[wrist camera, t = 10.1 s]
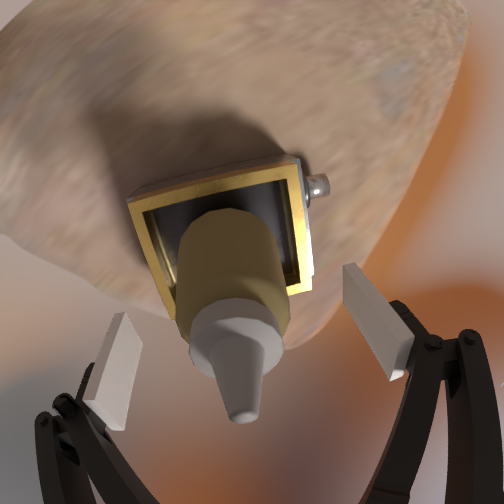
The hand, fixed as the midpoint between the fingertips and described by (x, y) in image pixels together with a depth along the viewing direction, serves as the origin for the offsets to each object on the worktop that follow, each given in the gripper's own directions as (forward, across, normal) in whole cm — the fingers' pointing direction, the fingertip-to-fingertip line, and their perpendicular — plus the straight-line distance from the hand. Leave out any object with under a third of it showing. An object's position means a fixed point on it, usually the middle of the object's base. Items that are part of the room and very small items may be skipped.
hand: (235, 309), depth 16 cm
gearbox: (+16, +1, 0) cm, 16 cm away
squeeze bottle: (+11, 0, 0) cm, 11 cm away
